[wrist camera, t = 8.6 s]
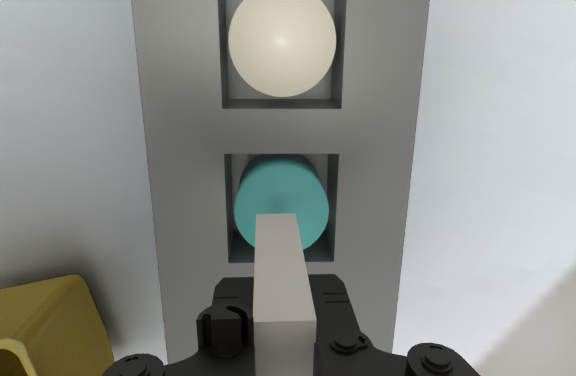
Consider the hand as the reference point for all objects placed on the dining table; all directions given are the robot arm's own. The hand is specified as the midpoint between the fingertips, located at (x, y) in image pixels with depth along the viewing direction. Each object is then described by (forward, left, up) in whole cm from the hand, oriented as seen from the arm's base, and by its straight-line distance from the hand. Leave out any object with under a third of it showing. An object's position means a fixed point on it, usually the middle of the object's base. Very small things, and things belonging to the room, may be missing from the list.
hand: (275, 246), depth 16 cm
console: (0, 0, -9) cm, 9 cm away
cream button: (0, +7, -7) cm, 10 cm away
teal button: (0, 0, -7) cm, 7 cm away
